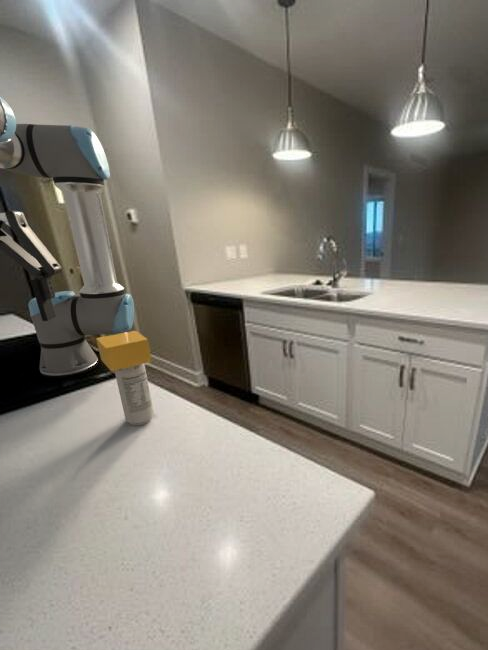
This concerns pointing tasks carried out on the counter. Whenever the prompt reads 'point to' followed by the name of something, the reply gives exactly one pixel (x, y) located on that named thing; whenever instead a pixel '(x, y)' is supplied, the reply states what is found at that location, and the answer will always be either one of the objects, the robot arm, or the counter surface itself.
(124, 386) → the energy drink can
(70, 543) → the counter surface
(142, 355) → the block
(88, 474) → the counter surface
